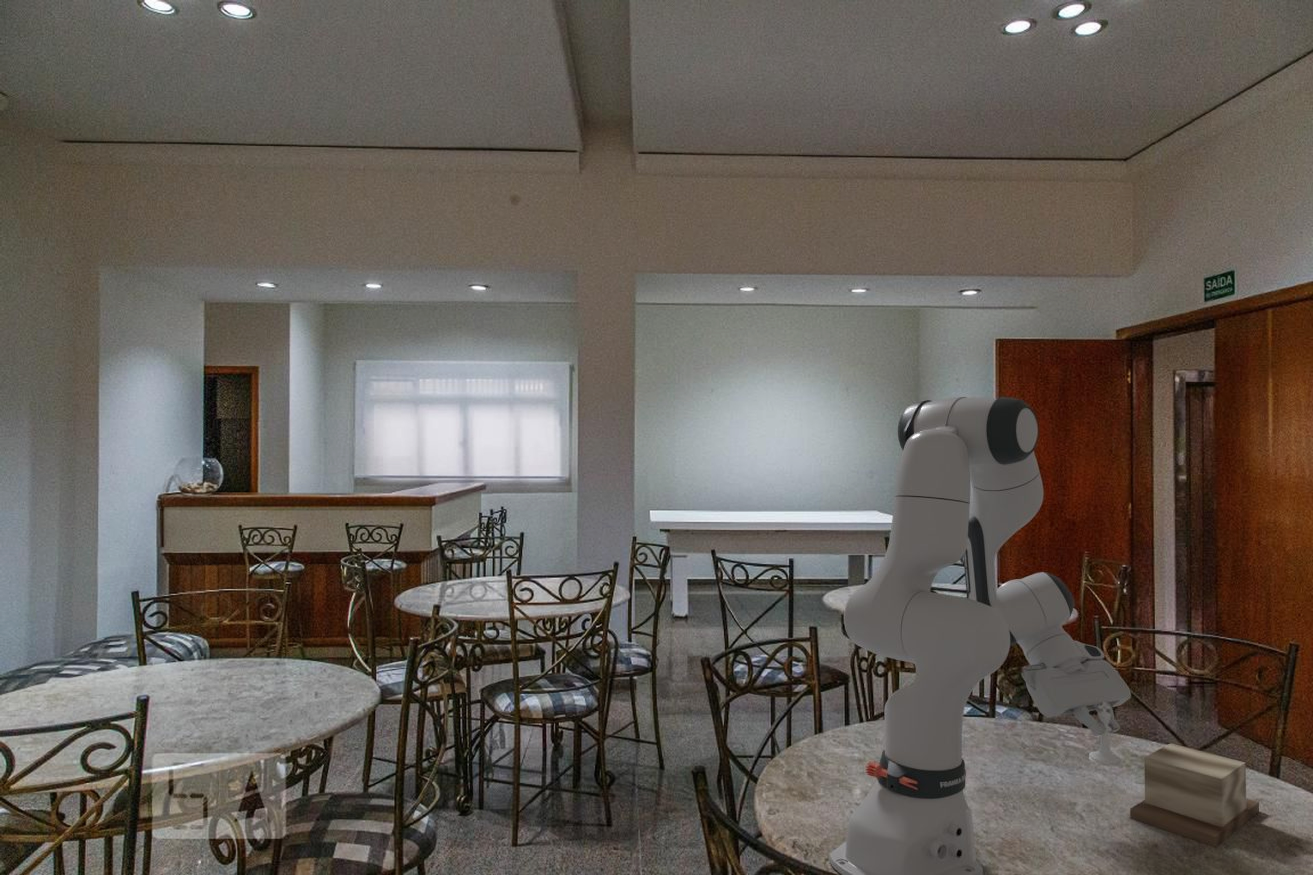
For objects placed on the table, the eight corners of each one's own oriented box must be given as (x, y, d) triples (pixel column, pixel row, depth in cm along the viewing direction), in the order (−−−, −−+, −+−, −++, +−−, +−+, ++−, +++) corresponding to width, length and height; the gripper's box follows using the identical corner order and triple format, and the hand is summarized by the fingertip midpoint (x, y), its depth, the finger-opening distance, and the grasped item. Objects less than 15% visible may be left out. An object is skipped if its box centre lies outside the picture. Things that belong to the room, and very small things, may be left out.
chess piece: (1126, 767, 132) (1125, 707, 132) (1094, 765, 133) (1093, 705, 133) (1115, 756, 137) (1114, 698, 137) (1084, 754, 138) (1083, 697, 138)
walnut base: (1215, 846, 120) (1214, 787, 120) (1130, 817, 129) (1129, 762, 129) (1259, 811, 132) (1258, 757, 132) (1178, 786, 141) (1177, 736, 141)
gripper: (1027, 656, 137) (1078, 731, 128) (1106, 647, 146) (1159, 716, 137) (1006, 676, 141) (1054, 749, 132) (1084, 665, 150) (1134, 733, 141)
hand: (1108, 732), depth 134 cm, fingers closed on chess piece, 2 cm apart
